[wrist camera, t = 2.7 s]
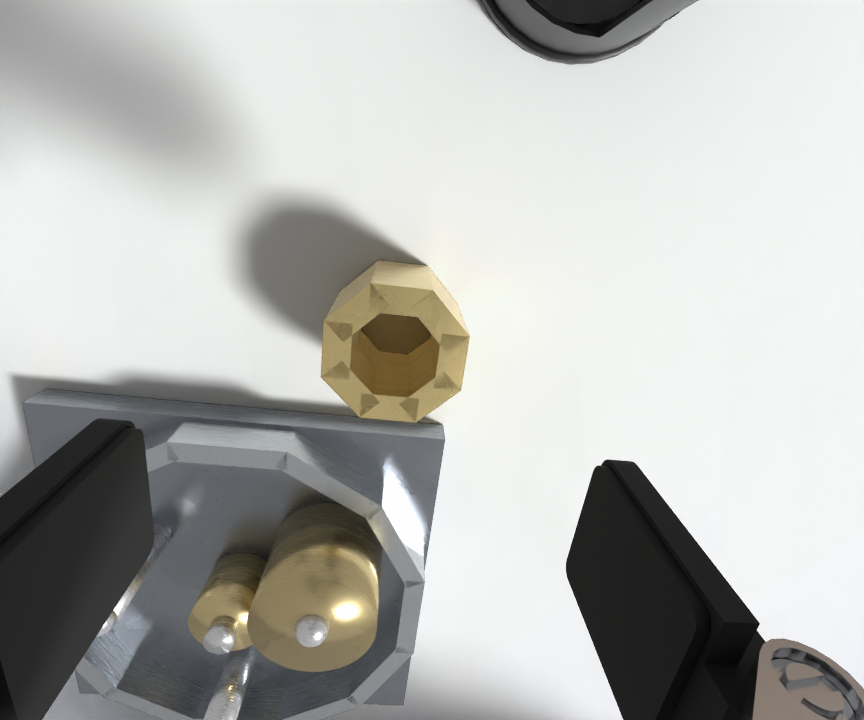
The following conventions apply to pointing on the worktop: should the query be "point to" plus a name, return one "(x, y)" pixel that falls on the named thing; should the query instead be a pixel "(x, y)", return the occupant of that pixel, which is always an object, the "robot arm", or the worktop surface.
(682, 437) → the worktop surface
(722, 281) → the worktop surface
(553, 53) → the french press
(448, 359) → the gear
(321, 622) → the carrier
